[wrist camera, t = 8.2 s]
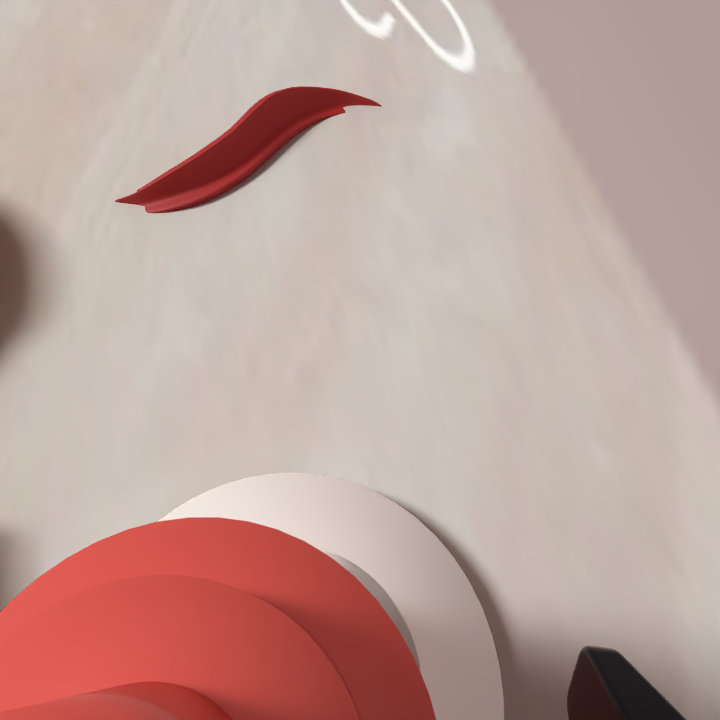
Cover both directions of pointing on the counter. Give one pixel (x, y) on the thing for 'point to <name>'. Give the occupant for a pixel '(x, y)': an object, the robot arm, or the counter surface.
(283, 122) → the cayenne pepper
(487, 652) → the saucer
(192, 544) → the ketchup bottle
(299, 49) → the counter surface
